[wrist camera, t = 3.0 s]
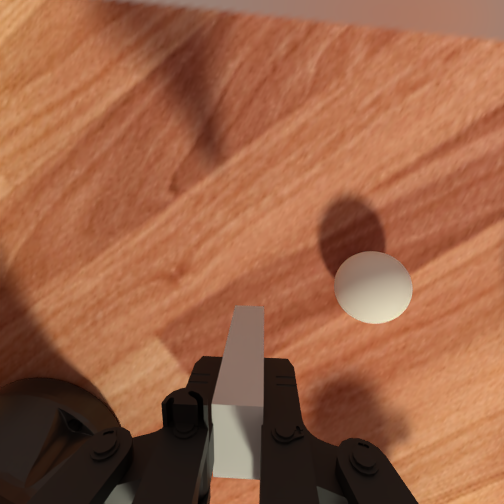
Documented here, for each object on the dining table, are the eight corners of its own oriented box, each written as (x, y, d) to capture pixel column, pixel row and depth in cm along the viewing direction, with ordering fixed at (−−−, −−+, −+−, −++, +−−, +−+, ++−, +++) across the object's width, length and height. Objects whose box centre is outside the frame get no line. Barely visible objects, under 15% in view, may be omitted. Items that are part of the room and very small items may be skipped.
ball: (324, 303, 24) (342, 336, 19) (329, 243, 23) (350, 261, 18) (386, 305, 24) (421, 339, 19) (395, 245, 23) (436, 263, 18)
